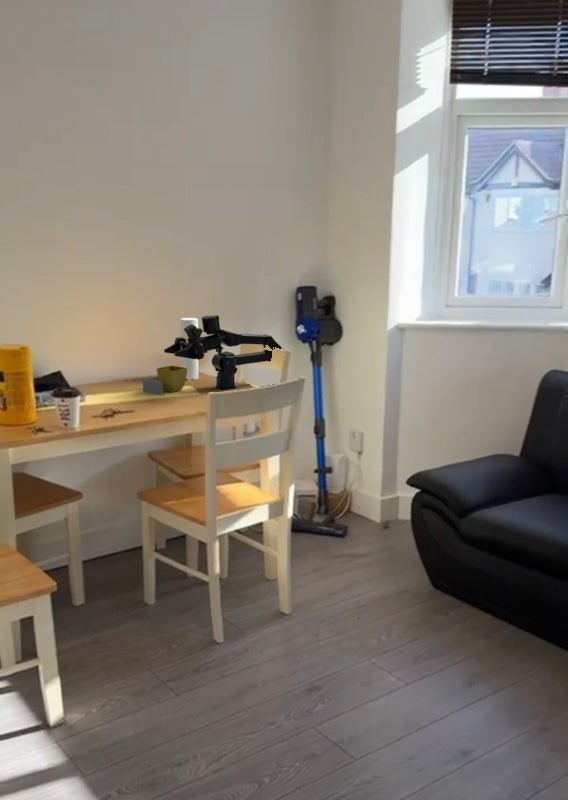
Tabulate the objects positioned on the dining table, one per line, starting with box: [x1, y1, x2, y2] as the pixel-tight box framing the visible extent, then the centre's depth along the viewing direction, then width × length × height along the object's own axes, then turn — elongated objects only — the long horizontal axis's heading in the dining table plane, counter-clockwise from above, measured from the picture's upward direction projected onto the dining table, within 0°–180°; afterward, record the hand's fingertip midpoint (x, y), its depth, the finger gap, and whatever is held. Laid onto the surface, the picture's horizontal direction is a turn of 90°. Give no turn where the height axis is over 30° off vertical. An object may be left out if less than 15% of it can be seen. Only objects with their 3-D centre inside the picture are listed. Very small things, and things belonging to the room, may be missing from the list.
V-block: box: [142, 375, 164, 395], centre depth 299 cm, size 7×12×5 cm, turn 18°
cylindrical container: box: [180, 317, 199, 381], centre depth 323 cm, size 7×7×25 cm
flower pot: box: [156, 364, 187, 393], centre depth 301 cm, size 9×9×9 cm
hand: (169, 352), depth 292 cm, fingers open, 9 cm apart
